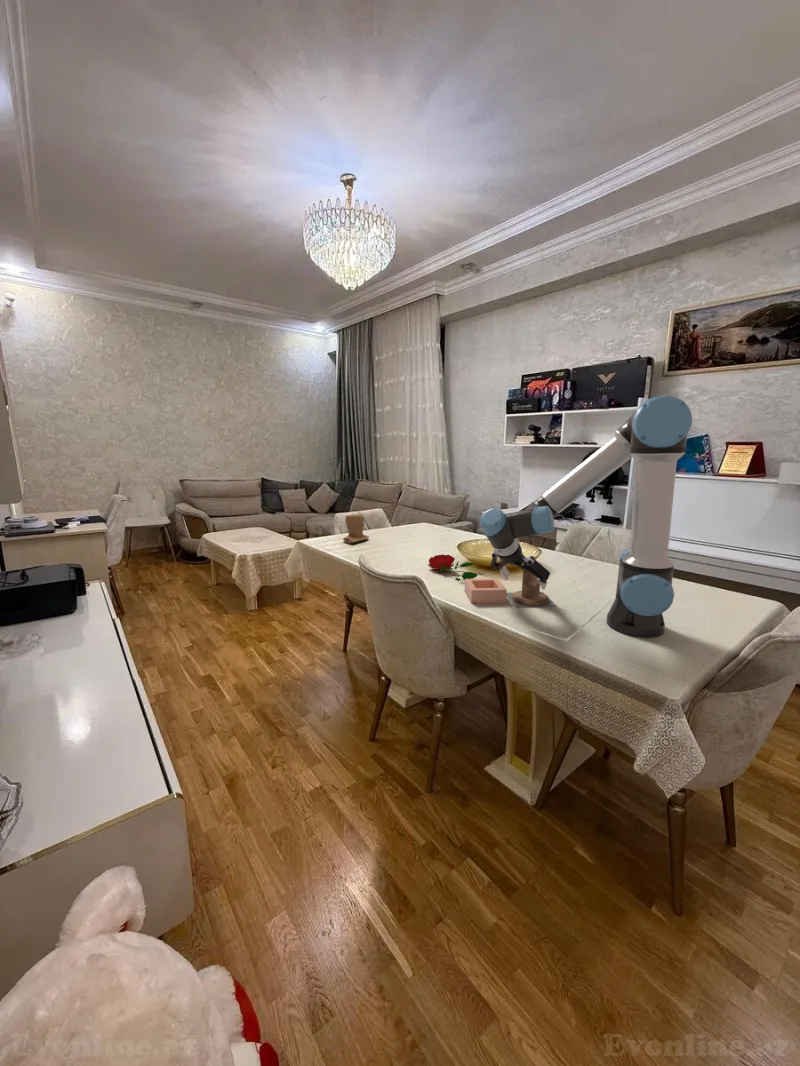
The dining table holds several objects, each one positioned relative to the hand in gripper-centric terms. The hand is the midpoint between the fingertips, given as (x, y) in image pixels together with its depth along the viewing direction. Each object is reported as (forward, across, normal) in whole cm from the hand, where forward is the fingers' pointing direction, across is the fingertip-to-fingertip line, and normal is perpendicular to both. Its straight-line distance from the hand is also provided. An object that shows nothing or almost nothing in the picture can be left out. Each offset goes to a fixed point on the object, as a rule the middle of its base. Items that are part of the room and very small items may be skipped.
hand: (525, 581), depth 147 cm
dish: (+1, -12, -9) cm, 15 cm away
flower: (+11, -33, 0) cm, 35 cm away
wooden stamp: (+21, -110, +10) cm, 113 cm away
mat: (+6, +1, -4) cm, 7 cm away
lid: (+6, +1, -4) cm, 7 cm away
